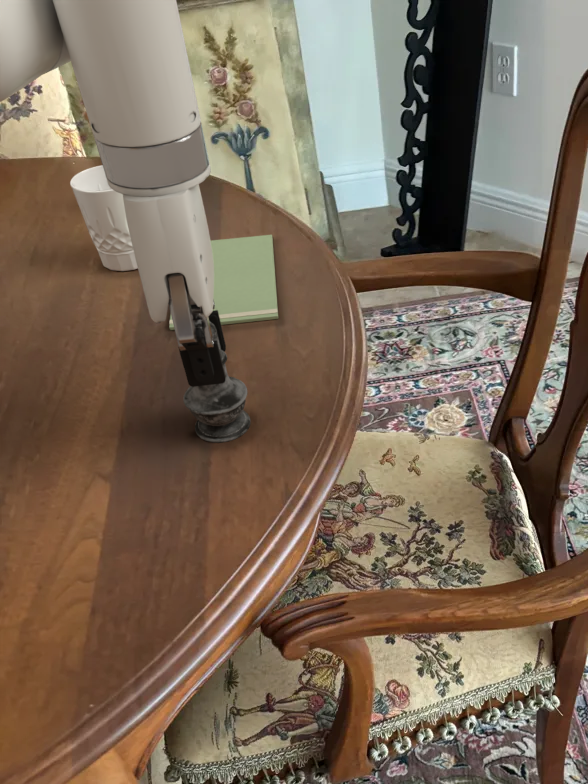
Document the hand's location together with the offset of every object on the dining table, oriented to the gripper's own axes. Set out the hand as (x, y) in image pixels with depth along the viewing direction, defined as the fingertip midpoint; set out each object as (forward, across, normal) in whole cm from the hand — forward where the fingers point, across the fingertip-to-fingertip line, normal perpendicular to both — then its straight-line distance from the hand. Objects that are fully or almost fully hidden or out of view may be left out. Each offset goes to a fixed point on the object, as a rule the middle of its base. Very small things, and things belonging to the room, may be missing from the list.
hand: (208, 365), depth 70 cm
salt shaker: (+7, 0, 0) cm, 7 cm away
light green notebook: (+7, -28, 0) cm, 29 cm away
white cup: (+7, -36, -12) cm, 39 cm away
